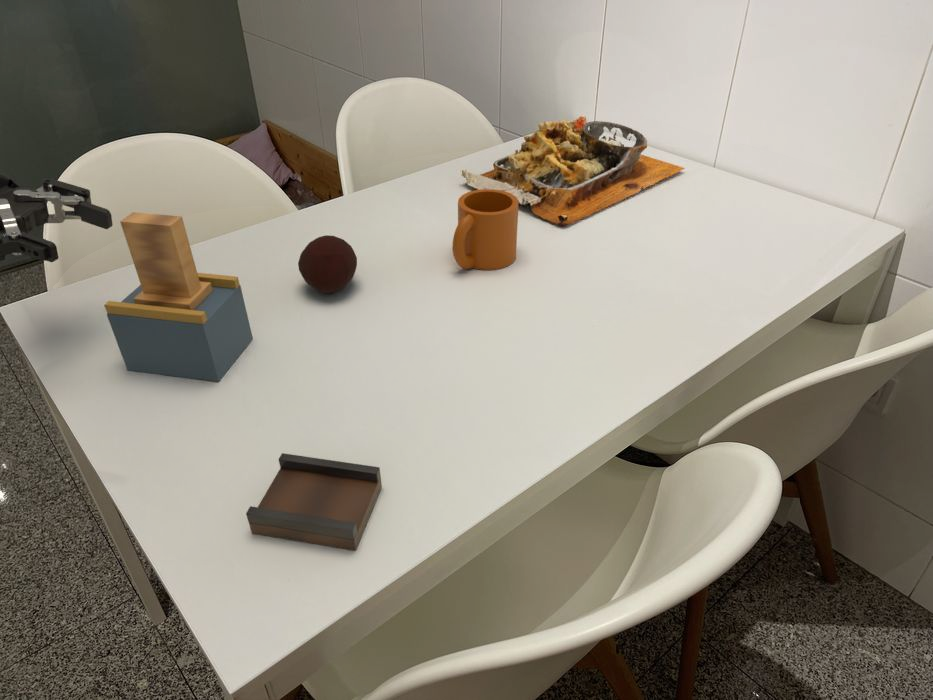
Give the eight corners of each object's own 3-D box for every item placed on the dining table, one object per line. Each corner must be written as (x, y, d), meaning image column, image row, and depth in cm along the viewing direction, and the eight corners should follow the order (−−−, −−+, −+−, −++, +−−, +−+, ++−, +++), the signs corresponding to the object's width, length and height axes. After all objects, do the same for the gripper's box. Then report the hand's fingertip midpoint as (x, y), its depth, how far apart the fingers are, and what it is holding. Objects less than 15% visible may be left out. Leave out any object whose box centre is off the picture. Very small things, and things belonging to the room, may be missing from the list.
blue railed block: (127, 370, 84) (102, 305, 78) (167, 329, 91) (148, 266, 85) (218, 382, 82) (200, 316, 76) (253, 338, 89) (238, 275, 83)
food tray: (580, 139, 147) (585, 87, 141) (685, 172, 132) (695, 115, 126) (457, 185, 128) (456, 127, 122) (563, 229, 113) (568, 166, 107)
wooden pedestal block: (135, 307, 80) (108, 226, 74) (159, 285, 84) (135, 206, 78) (191, 313, 79) (167, 231, 73) (213, 291, 83) (192, 211, 77)
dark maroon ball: (357, 269, 103) (351, 221, 99) (362, 301, 96) (357, 251, 91) (302, 275, 102) (293, 227, 97) (303, 308, 95) (294, 257, 90)
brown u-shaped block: (251, 533, 64) (245, 513, 62) (286, 472, 70) (281, 452, 68) (355, 551, 62) (352, 530, 60) (382, 486, 68) (379, 466, 66)
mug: (429, 261, 105) (427, 205, 100) (489, 237, 111) (490, 183, 106) (468, 284, 99) (467, 226, 94) (529, 257, 105) (531, 202, 100)
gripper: (-110, 186, 72) (28, 234, 70) (2, 141, 83) (122, 182, 81) (-88, 248, 76) (41, 295, 75) (15, 198, 88) (129, 238, 86)
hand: (83, 236), depth 78 cm, fingers open, 8 cm apart
